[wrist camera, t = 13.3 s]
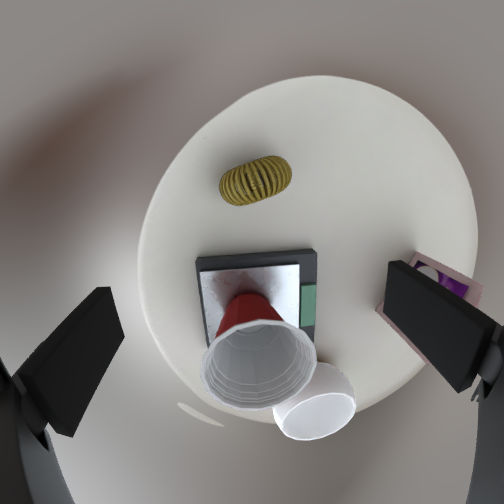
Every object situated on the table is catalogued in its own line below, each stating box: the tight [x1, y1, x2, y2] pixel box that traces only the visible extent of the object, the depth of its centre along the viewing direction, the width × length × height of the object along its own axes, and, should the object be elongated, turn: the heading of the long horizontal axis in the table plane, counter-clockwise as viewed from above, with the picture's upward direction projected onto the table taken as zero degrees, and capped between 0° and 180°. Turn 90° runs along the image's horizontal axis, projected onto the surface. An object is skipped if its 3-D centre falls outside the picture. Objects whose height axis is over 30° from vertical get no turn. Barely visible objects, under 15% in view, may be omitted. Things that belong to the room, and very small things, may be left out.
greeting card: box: [375, 252, 484, 365], centre depth 31 cm, size 11×7×15 cm, turn 146°
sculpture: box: [219, 156, 292, 206], centre depth 29 cm, size 8×4×8 cm, turn 110°
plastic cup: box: [200, 294, 317, 410], centre depth 28 cm, size 11×11×12 cm
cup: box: [273, 362, 357, 440], centre depth 37 cm, size 12×12×10 cm
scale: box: [195, 249, 317, 348], centre depth 36 cm, size 14×15×3 cm
